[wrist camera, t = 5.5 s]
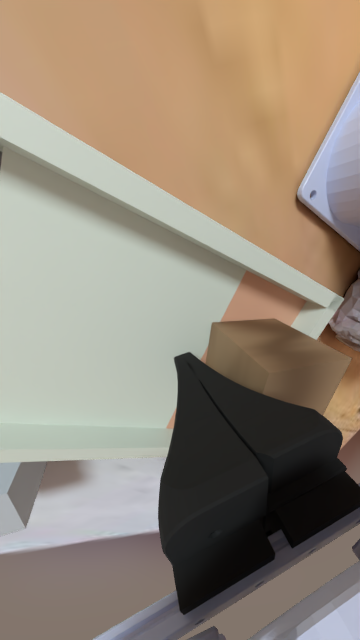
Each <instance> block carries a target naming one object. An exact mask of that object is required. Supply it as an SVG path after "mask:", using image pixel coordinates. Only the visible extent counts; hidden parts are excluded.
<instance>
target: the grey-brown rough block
mask: <svg viewBox="0 0 360 640" xmlns="http://www.w3.org/2000/svg"><path fill="white" fill-rule="evenodd" d="M358 278H359V279H358V280H356V281H355V282H354V283H353V284H352V285H351V286H350V287H349V289H348V290H347V292H346V295H345V297H344V301H343V302H342V303H341V305H340V306H339V308H338V309H337V311H336V312H335V314H334V315H333V316H332V318H331V319H330V321H329V322H328V323H329V324H330V326H331V329H332V330H333V331H335V333H336V338H337V339H338V340H339V341H341V342H343V343H344V344H346V345H347V346H349V347H351V348H352V349H354V350H355V351H359V352H360V270H359V271H358Z"/></svg>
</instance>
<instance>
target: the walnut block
mask: <svg viewBox="0 0 360 640" xmlns="http://www.w3.org/2000/svg"><path fill="white" fill-rule="evenodd" d="M351 360H352V358H351V357H349V356H347V355H345V354H343V353H341V352H339V351H337V350H335V349H333V348H331V347H329V346H327V345H325V344H323V343H321V342H320V341H318V340H316V339H314V338H312V337H310V336H308V335H306V334H304V333H302V332H300V331H298V330H296V329H294V328H292V327H290V326H288V325H286V324H284V323H282V322H281V321H279V320H277V319H275V318H273V319H258V320H242V321H227V322H212V325H211V331H210V338H209V344H208V351H207V357H206V363H205V364H206V365H208V366H209V367H211V368H212V369H214V370H215V371H217V372H218V373H220V374H221V375H223V376H225V377H227V378H228V379H230V380H232V381H234V382H236V383H238V384H240V385H242V386H244V387H246V388H249V389H251V390H253V391H256V392H258V393H261V394H264V395H266V396H269V397H272V398H275V399H278V400H281V401H284V402H288V403H292V404H295V405H299V406H303V407H307V408H311V409H315V410H316V411H317V412H319V413H320V414H321V415H323V414H324V412H325V410H326V408H327V406H328V404H329V402H330V400H331V399H332V397H333V395H334V393H335V391H336V389H337V387H338V385H339V383H340V381H341V379H342V377H343V375H344V373H345V372H346V370H347V368H348V366H349V364H350V362H351Z"/></svg>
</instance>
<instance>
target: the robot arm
mask: <svg viewBox="0 0 360 640" xmlns="http://www.w3.org/2000/svg"><path fill="white" fill-rule="evenodd" d="M310 193H311V197H310ZM297 196H298V199H299V200H300V201H301V202H302V203H303V204H305V205H306V206H307V207H308V208H309V209H310V210H312V211H313V212H314V213H315V214H316V215H317V216H319V217H320V218H321V219H322V220H323V221H324V222H326V223H327V224H328V225H329V226H330V227H331V228H333V229H334V230H335V231H336V232H337V233H339V234H340V235H341V236H342V237H343V238H344V239H346V240H347V241H348V242H349V243H350V244H351V245H353V246H354V247H355V248H356V249H357V250H358V251H360V72H359V74H358V76H357V78H356V80H355V82H354V84H353V86H352V87H351V89H350V91H349V93H348V95H347V97H346V99H345V101H344V103H343V105H342V107H341V108H340V110H339V112H338V114H337V116H336V118H335V120H334V122H333V124H332V126H331V128H330V129H329V131H328V133H327V135H326V137H325V139H324V141H323V143H322V145H321V147H320V148H319V150H318V152H317V154H316V156H315V158H314V160H313V162H312V164H311V166H310V168H309V169H308V171H307V173H306V175H305V177H304V179H303V181H302V183H301V185H300V187H299V189H298V192H297ZM174 363H175V367H176V371H177V380H178V393H177V407H176V415H175V422H174V428H173V433H172V438H171V442H170V447H169V451H168V455H167V458H166V462H165V465H164V469H163V472H162V476H161V480H160V481H161V482H160V492H159V507H158V520H159V531H160V538H161V544H162V549H163V552H164V554H165V555H166V557H167V558H168V559H169V561H170V562H171V564H172V566H173V572H174V578H175V585H176V591H174V592H173V593H171V594H169V595H167V596H165V597H164V598H162V599H160V600H159V601H157V602H155V603H153V604H152V605H150V606H148V607H147V608H145V609H143V610H141V611H140V612H138V613H136V614H135V615H133V616H131V617H129V618H128V619H126V620H124V621H123V622H121V623H119V624H117V625H116V626H114V627H112V628H111V629H109V630H107V631H105V632H104V633H102V634H101V635H99V636H97V637H95V638H93V639H92V640H177V639H179V638H181V637H182V636H184V635H185V634H187V633H188V632H190V631H192V630H193V629H195V628H196V627H198V626H199V625H201V624H203V623H204V622H206V621H207V620H209V619H210V618H212V617H214V616H215V615H217V614H218V613H220V612H221V611H223V610H225V609H226V608H228V607H229V606H231V605H232V604H234V603H236V602H237V601H239V600H240V599H242V598H244V597H245V596H247V595H248V594H250V593H251V592H253V591H255V590H256V589H258V588H259V587H261V586H262V585H264V584H266V583H267V582H268V581H270V580H272V579H274V578H275V577H277V576H278V575H280V574H281V573H283V572H285V571H286V570H288V569H289V568H291V567H292V566H294V565H296V564H297V563H299V562H300V561H302V560H303V559H305V558H307V557H308V556H310V555H311V554H313V553H314V552H316V551H318V550H319V549H321V548H322V547H324V546H325V545H327V544H329V543H330V542H332V541H333V540H335V539H337V538H338V537H340V536H341V535H343V534H344V533H346V532H348V531H349V530H351V529H352V528H354V527H355V526H357V525H358V524H360V483H359V484H356V482H355V481H354V480H353V479H352V478H351V477H350V476H349V475H348V474H347V473H346V472H345V471H346V469H347V468H346V466H345V465H344V464H343V463H342V462H341V461H340V460H339V459H338V458H337V455H338V453H339V450H340V447H341V445H342V440H343V437H342V433H341V431H340V430H339V429H337V428H336V427H335V426H334V425H333V424H332V423H331V422H330V421H329V420H327V419H326V418H325V417H324V416H323V415H321V414H320V413H319V412H317V411H316V410H315V409H311V408H307V407H303V406H299V405H295V404H292V403H288V402H284V401H281V400H278V399H275V398H272V397H269V396H266V395H264V394H261V393H258V392H256V391H253V390H251V389H249V388H246V387H244V386H242V385H240V384H238V383H236V382H234V381H232V380H230V379H228V378H227V377H225V376H223V375H221V374H220V373H218V372H217V371H215V370H214V369H212V368H211V367H209V366H208V365H206V364H205V363H203V362H202V361H201V360H199V359H198V358H197V357H196V356H194V355H193V354H192V353H191V352H187V353H184V354H181V355H178V356H175V357H174ZM352 549H353V552H354V553H355V555H356V556H357V557H358V559H359V560H360V539H359V540H358V542H357V543H356V544H355V545H354V546H353V547H352ZM187 640H226V638H225V636H224V635H223V634H219V633H218V629H217V628H216V627H214V626H213V627H211V628H209V629H207V630H205V631H203V632H201V633H199V634H197V635H195V636H193V637H191V638H189V639H187ZM248 640H360V561H358V562H357V563H355V564H354V565H352V566H351V567H349V568H348V569H346V570H345V571H343V572H342V573H340V574H339V575H338V576H336V577H334V578H333V579H331V580H330V581H329V582H327V583H326V584H324V585H323V586H321V587H320V588H319V589H317V590H316V591H314V592H313V593H311V594H310V595H309V596H307V597H306V598H304V599H303V600H301V601H300V602H299V603H297V604H296V605H294V606H293V607H292V608H290V609H289V610H288V611H286V612H285V613H283V614H282V615H281V616H279V617H278V618H276V619H275V620H274V621H272V622H271V623H270V624H268V625H267V626H266V627H264V628H263V629H262V630H260V631H259V632H257V633H256V634H255V635H253V636H252V637H251V638H249V639H248Z"/></svg>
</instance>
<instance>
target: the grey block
mask: <svg viewBox="0 0 360 640" xmlns="http://www.w3.org/2000/svg"><path fill="white" fill-rule="evenodd" d="M46 465H47V461H38V462H10V463H0V537H1V536H4V535H7V534H10V533H14V532H17V531H20V530H23V529H26V526H27V523H28V520H29V517H30V514H31V511H32V508H33V505H34V502H35V499H36V496H37V492H38V489H39V486H40V483H41V480H42V477H43V474H44V471H45V468H46Z"/></svg>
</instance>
